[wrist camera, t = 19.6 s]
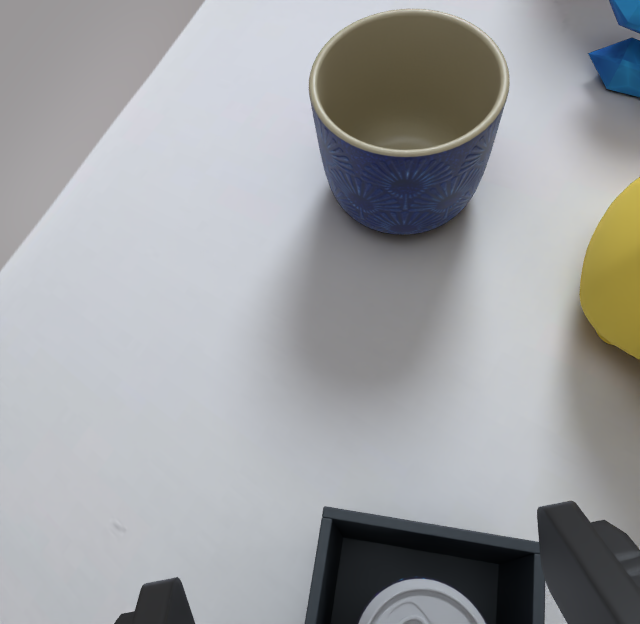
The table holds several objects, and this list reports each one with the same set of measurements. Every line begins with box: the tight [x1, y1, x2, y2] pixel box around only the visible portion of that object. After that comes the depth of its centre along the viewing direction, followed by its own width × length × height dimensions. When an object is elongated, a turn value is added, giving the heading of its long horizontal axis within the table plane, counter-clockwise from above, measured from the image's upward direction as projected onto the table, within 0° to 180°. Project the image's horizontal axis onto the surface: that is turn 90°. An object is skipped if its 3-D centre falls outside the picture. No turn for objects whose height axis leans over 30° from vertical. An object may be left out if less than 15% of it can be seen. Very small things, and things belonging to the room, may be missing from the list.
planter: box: [309, 9, 509, 235], centre depth 43 cm, size 12×12×11 cm
